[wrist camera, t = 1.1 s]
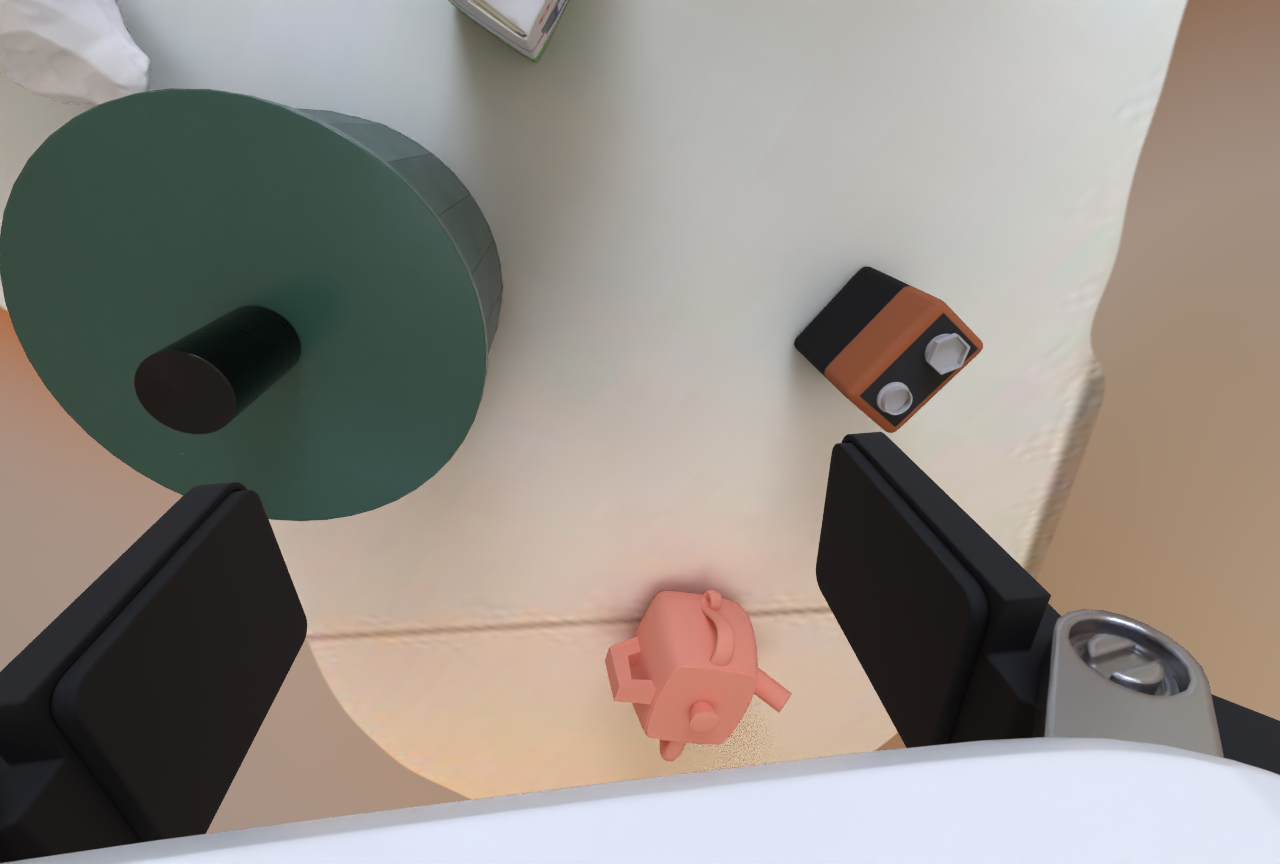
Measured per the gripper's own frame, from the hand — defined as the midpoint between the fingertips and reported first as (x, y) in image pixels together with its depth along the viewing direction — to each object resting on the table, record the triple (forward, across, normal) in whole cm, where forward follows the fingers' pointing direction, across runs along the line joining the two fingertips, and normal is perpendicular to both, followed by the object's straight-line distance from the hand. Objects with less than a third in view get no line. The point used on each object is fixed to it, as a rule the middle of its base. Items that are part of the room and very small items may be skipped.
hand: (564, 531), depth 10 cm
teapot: (+29, -8, +33) cm, 44 cm away
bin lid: (+17, +13, +1) cm, 22 cm away
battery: (+29, -18, +6) cm, 35 cm away
